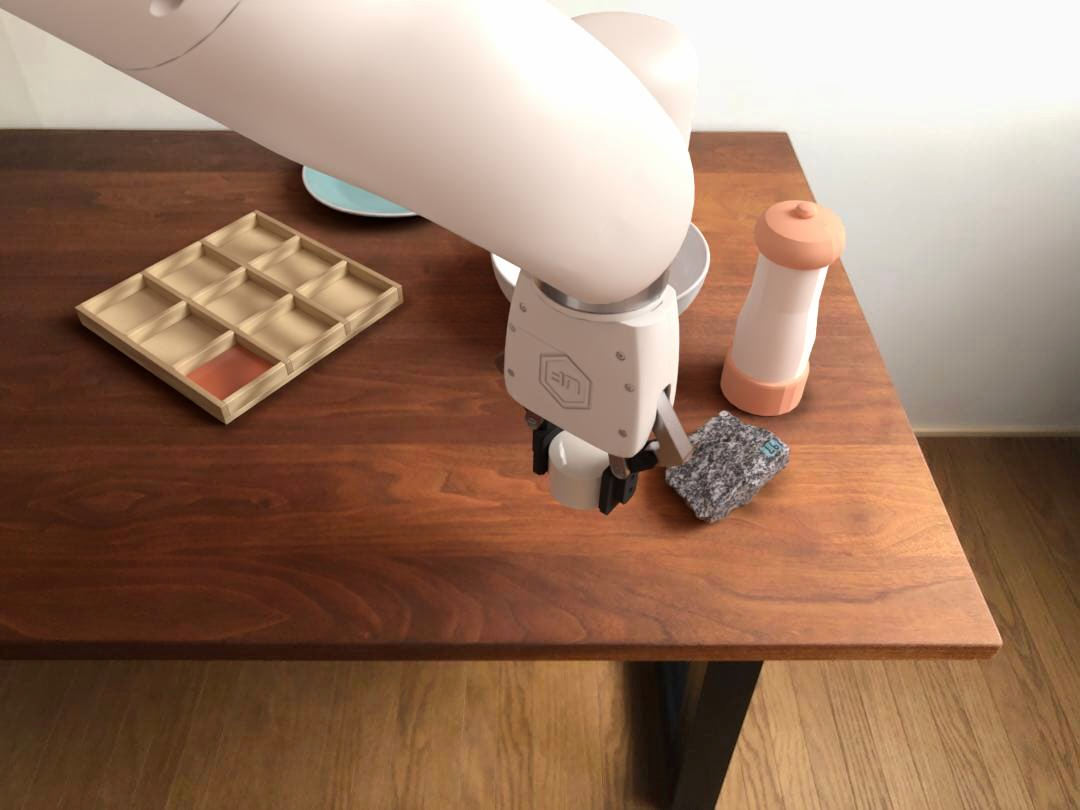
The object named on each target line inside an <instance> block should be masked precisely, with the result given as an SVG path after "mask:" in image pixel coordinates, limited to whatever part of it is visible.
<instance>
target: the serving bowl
mask: <svg viewBox="0 0 1080 810" xmlns="http://www.w3.org/2000/svg"><path fill="white" fill-rule="evenodd" d="M489 253H490V259H491V264H492V268H493V272H494V273H493V274H494V275H495V279H496V281H497V283H498V286H499V288H500V290H501V291H502V294H503V295H504V296H505V298H506V299H507V301H508V302H509V303H510V304H511V302H512V297H513V293H514V289H515V286H516V282H517V278H518V275H519V272H520V268H519V267H517V266H515V265H513V264H511V263H509V262H508V261H506V260H504V259H502V258H500V257H498V256H496V255H495V254H493V253H491V252H489ZM710 265H711V253H710V248H709V244H708V242H707V240H706V238H705V236H704V235H703V233H702V232H701V231H700V230H699V228H698V227H697V226H696V225H695V224H694V223H693V222H692V221H691V222H690V225H689V228H688V231H687V235H686V237H685V239H684V241H683V243H682V246H681V248H680V250H679V252H678V253H677V255H676V256H675V258H674V259H673V261H672V262H671V266H670V272H669V279H668V285H669V286H671V287H672V288H673V289H674V290H675V291H676V298H677V306H678V317H679V316H680V315H682V314H683V313H684V312H686V310H687V309H688V308H689V307H690V306H691V304H692V303H693V302H694V300H695V299H696V298H697V296H698V295H699V292H700V291H701V289H702V286H703V285H704V282H705V279H706V277H707V274H708V272H709V268H710Z"/></svg>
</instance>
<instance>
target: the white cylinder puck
mask: <svg viewBox="0 0 1080 810" xmlns="http://www.w3.org/2000/svg"><path fill="white" fill-rule="evenodd" d="M609 465H610V462H609V457H608V453H607V452H604V451H602V450H600V449H599V448H597V447H595V446H593V445H591V444H589V443H587V442H585V441H584V440H582V439H580V438H578V437H576V436H574V435H573V434H571V433H569V432H567V431H565V430H564V431H562V432H560V433H559V434H558V435H557V436H556V437H555V438H554V439H553V440H552V441H551V443H550V446H549V453H548V471H547V475H546V476H547V478H546V486H547V489H548V492H549V494H550V495H551V497H552V498H553V499H554V500H555V501H556V502H557V503H558V504H560V505H561V506H564V507H565V508H568V509H571V510H574V511H592V510H598V509H599V508H598V505H599V496H600V487H601V478H602V473H603V471H604V470H605V469H606V468H607V467H608V466H609Z"/></svg>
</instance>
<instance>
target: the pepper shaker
mask: <svg viewBox="0 0 1080 810" xmlns="http://www.w3.org/2000/svg"><path fill="white" fill-rule="evenodd" d="M846 233H847V232H846V227H845V225H844V224H843V221H842V220H841V218H840V217H839V215H838V214H836V213H835V212H834V211H833V210H831V208H828V207H826V206H824V205H822V204H819V203H816V202H813V201H807V200H799V199H796V200H795V199H794V200H793V199H792V200H784V201H779V202H776V203H774V204H773V205H771V206H769V207H768V208H767V209H766V210H765V211H763V212H762V214H760V216H759V218H758V219H757V220H756V223H755V224H754V228H753V236H754V238H753V239H754V242H755V245H756V246H757V249H758V251H759V253H758V258H757V262H756V266H755V271H754V274H753V280H752V282H751V283H752V284H751V287H750V288H749V291H748V294H747V296H746V299H745V301H744V303H743V305H742V307H741V310H740V312H739V314H738V317H737V319H736V324H735V325H736V326H735V330H734V336H733V341H732V343H731V344H730V346H729V347H728V348H727V350H726V354H725V359H724V364H723V368H722V373H721V377H720V389H721V392H722V394H723V396H724V397H725V398H726V399H727V401H728V402H729V403H730V404H732V405H733V406H735V407H736V408H737V409H739V410H741V411H743V412H746V413H749V414H751V415H755V416H762V417H774V416H781V415H784V414H787V413H790V412H791V411H792V410H794V409H795V408H796V407H798V405H799V403H800V401H801V399H802V397H803V394H804V391H805V387H806V383H807V380H808V377H809V375H810V361H809V358H810V355H811V353H812V348H813V346H814V344H815V341H816V335H817V325H818V324H817V323H818V313H819V301H820V298H821V294H822V291H823V287H824V284H825V280H826V277H827V273H828V269H829V267H830V265H831V264H833V263H834V262H835V261H836V260H838V259H839V257H840V256H841V255H842V253H843V251H844V250H845V248H846V247H847V234H846Z"/></svg>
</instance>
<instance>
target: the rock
mask: <svg viewBox="0 0 1080 810" xmlns="http://www.w3.org/2000/svg"><path fill="white" fill-rule="evenodd" d="M687 437H688V439H689V441H690V443H691V445H692V447H693V453H692V454H691V455H690V456H689V458H688V459H687V460H686V461H685V462H684V463H683V464H682V465H680V466H667V467H666V468H665V476H664V480H665V484H667V485H668V486H669V487H671V488H672V489H674V490H675V491H676V493H677V495H678V496H680V497H681V498H682V499H683V500H684V503H685V505H686V506H687V507H688V508H689V509H691V510H692V511H693V512H694V515H695V518H697V519H699V520H703V521H704V522H705V523H707V524H713V523H715V522H718V521H720V520H723V519H725V518H727V517H728V515H729V514H730V513H731V512H732V511H733V510H737V509H738V510H739V508H741V507H743V506H744V505H748V504H750V502H751V501H752V500H753V499H754V498H755V496H756V495H757V493H758V492H759V491H760V490H761V488H763V487H764V486H765V485H766V484H767V483H768V482H769V481H771V480H772V479H773V478H774V477H775V476H776V475H777V474H779V473H780V472H781V471H783V470H784V469H785V468H786V467H787V466H788V465H789V463H790V454H791V448H790V447H789V446H788V444H786V443H785V442H784V441H783V440H782V439H780V438H779V437H777V436H776V435H775V434H774V432H772V431H770V430H769V429H767V428H764V427H758V426H756V425H754V424H749V423H744V422H742V420H741V419H739V418H738V417H737V416H734V415H732V414H731V413H730V411H728V410H726V409H724V410H722V411H720V412H718V413H717V414H716V415H714V416H712V417H711V418H710V419H709V420H707V421H706V422H704V423H703V425H701V426H700V427H698V428H697V429H695V430H694V431H692V433H691V434H689V435H687Z"/></svg>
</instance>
